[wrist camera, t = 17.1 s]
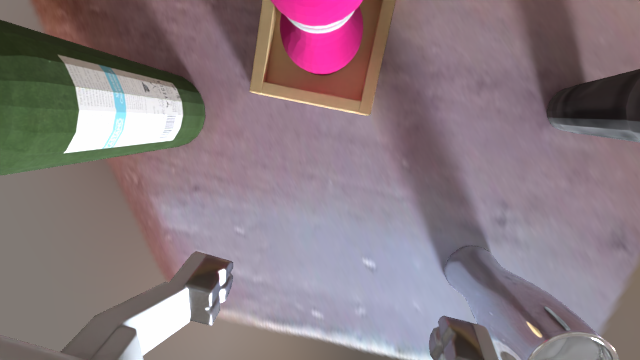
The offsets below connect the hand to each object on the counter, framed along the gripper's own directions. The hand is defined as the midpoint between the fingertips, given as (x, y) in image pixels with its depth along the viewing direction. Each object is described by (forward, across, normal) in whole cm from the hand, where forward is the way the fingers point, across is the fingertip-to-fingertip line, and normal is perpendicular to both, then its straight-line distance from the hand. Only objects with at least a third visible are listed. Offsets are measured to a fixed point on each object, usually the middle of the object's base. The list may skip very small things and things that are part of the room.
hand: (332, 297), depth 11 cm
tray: (+26, +6, -6) cm, 27 cm away
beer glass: (+21, -17, +14) cm, 30 cm away
